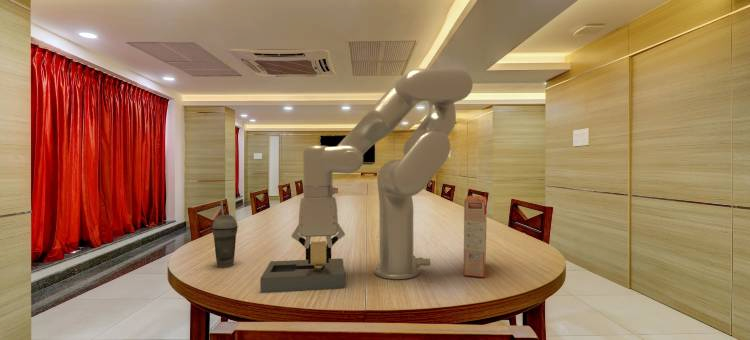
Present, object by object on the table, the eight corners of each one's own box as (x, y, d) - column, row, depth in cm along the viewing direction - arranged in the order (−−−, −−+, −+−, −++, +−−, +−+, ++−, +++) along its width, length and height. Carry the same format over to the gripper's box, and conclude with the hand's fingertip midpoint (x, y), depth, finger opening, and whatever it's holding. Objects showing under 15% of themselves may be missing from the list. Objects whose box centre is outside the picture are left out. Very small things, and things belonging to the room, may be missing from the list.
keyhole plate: (342, 270, 96) (342, 258, 96) (344, 288, 82) (344, 273, 82) (270, 273, 93) (270, 261, 93) (260, 292, 79) (260, 277, 79)
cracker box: (486, 278, 89) (486, 200, 88) (462, 276, 90) (462, 199, 90) (486, 264, 102) (486, 195, 102) (466, 262, 104) (466, 195, 103)
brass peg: (327, 276, 91) (327, 241, 90) (327, 281, 86) (327, 244, 86) (310, 277, 90) (310, 241, 90) (309, 282, 86) (309, 245, 85)
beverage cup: (228, 269, 97) (227, 201, 96) (206, 268, 98) (205, 200, 98) (243, 262, 104) (242, 198, 104) (222, 261, 105) (221, 198, 105)
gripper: (349, 191, 93) (349, 256, 93) (287, 192, 90) (288, 259, 91) (350, 193, 85) (351, 264, 85) (283, 194, 83) (284, 267, 83)
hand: (318, 261), depth 88 cm, fingers closed on brass peg, 3 cm apart
